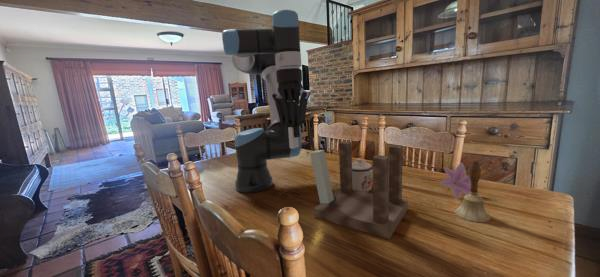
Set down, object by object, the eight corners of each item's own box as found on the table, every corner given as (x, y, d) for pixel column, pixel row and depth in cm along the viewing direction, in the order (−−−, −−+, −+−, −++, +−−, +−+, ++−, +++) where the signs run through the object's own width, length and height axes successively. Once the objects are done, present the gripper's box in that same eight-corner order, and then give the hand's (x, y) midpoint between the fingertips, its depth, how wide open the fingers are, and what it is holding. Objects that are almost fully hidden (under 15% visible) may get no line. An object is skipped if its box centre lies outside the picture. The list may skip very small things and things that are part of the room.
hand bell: (491, 225, 66) (497, 166, 63) (454, 218, 70) (457, 163, 67) (489, 211, 73) (493, 158, 70) (455, 206, 77) (458, 155, 74)
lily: (432, 199, 85) (446, 180, 79) (431, 175, 94) (443, 157, 88) (471, 212, 82) (488, 193, 76) (465, 186, 91) (480, 168, 85)
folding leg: (320, 203, 75) (310, 152, 73) (325, 199, 77) (315, 150, 76) (328, 203, 73) (318, 152, 71) (333, 199, 75) (324, 149, 74)
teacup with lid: (365, 195, 88) (365, 163, 86) (342, 190, 94) (341, 160, 92) (379, 184, 97) (379, 155, 95) (357, 180, 103) (356, 152, 101)
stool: (314, 217, 75) (311, 152, 72) (342, 195, 90) (340, 140, 86) (389, 239, 63) (389, 161, 59) (407, 209, 77) (408, 145, 73)
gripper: (263, 70, 75) (270, 148, 79) (299, 65, 67) (304, 152, 71) (280, 71, 81) (285, 143, 85) (314, 66, 73) (318, 146, 77)
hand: (294, 147), depth 78 cm, fingers closed
